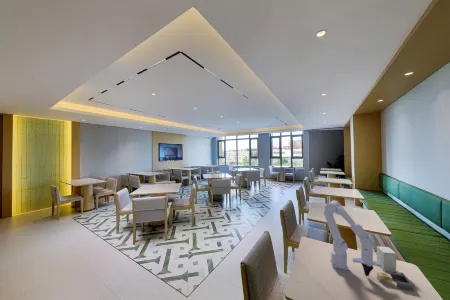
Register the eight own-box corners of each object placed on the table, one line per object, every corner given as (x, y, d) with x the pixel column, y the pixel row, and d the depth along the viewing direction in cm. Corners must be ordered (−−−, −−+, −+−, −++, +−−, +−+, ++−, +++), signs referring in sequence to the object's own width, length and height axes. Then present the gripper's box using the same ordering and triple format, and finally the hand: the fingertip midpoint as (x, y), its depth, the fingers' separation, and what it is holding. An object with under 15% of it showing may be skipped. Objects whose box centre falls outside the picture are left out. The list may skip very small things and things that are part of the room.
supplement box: (396, 272, 114) (397, 253, 114) (383, 271, 116) (383, 252, 115) (388, 264, 121) (389, 246, 121) (376, 263, 123) (376, 245, 122)
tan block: (379, 281, 107) (379, 275, 107) (377, 277, 110) (377, 271, 110) (391, 284, 105) (392, 277, 105) (389, 280, 108) (389, 274, 108)
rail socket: (397, 287, 103) (397, 282, 102) (388, 275, 112) (388, 270, 112) (413, 291, 100) (413, 285, 100) (402, 278, 109) (403, 272, 109)
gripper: (355, 255, 109) (355, 276, 110) (384, 260, 104) (384, 282, 105) (351, 249, 116) (351, 269, 116) (378, 253, 111) (378, 274, 111)
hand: (366, 275), depth 111 cm, fingers closed
